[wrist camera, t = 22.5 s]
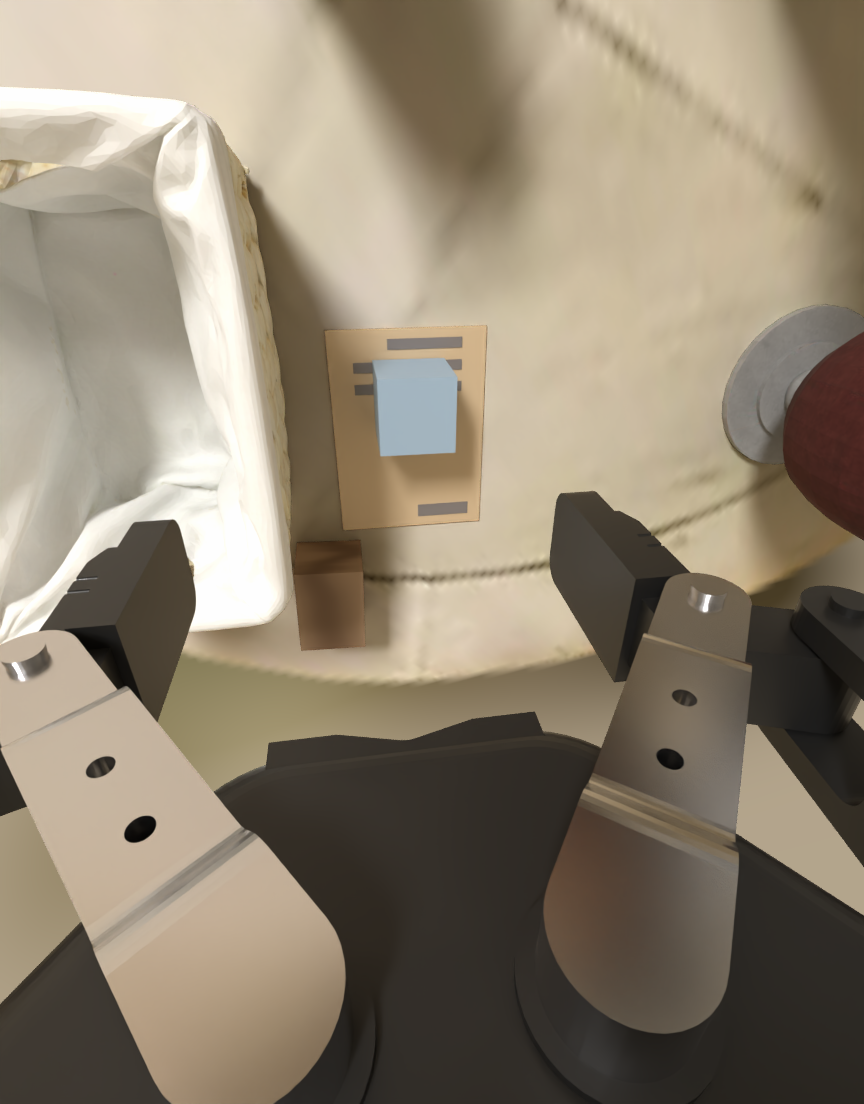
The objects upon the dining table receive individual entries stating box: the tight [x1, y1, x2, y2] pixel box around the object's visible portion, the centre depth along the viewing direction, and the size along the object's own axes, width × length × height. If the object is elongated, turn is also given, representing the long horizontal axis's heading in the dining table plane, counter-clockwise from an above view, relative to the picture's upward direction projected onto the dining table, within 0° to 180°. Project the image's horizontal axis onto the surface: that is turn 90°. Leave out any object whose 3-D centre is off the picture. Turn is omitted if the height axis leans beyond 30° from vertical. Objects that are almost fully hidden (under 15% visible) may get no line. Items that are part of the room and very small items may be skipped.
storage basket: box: [0, 87, 294, 644], centre depth 31 cm, size 24×16×15 cm
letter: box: [324, 325, 487, 530], centre depth 43 cm, size 11×15×1 cm
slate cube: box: [372, 358, 458, 456], centre depth 39 cm, size 5×5×5 cm
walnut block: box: [294, 540, 365, 651], centre depth 46 cm, size 5×7×5 cm
